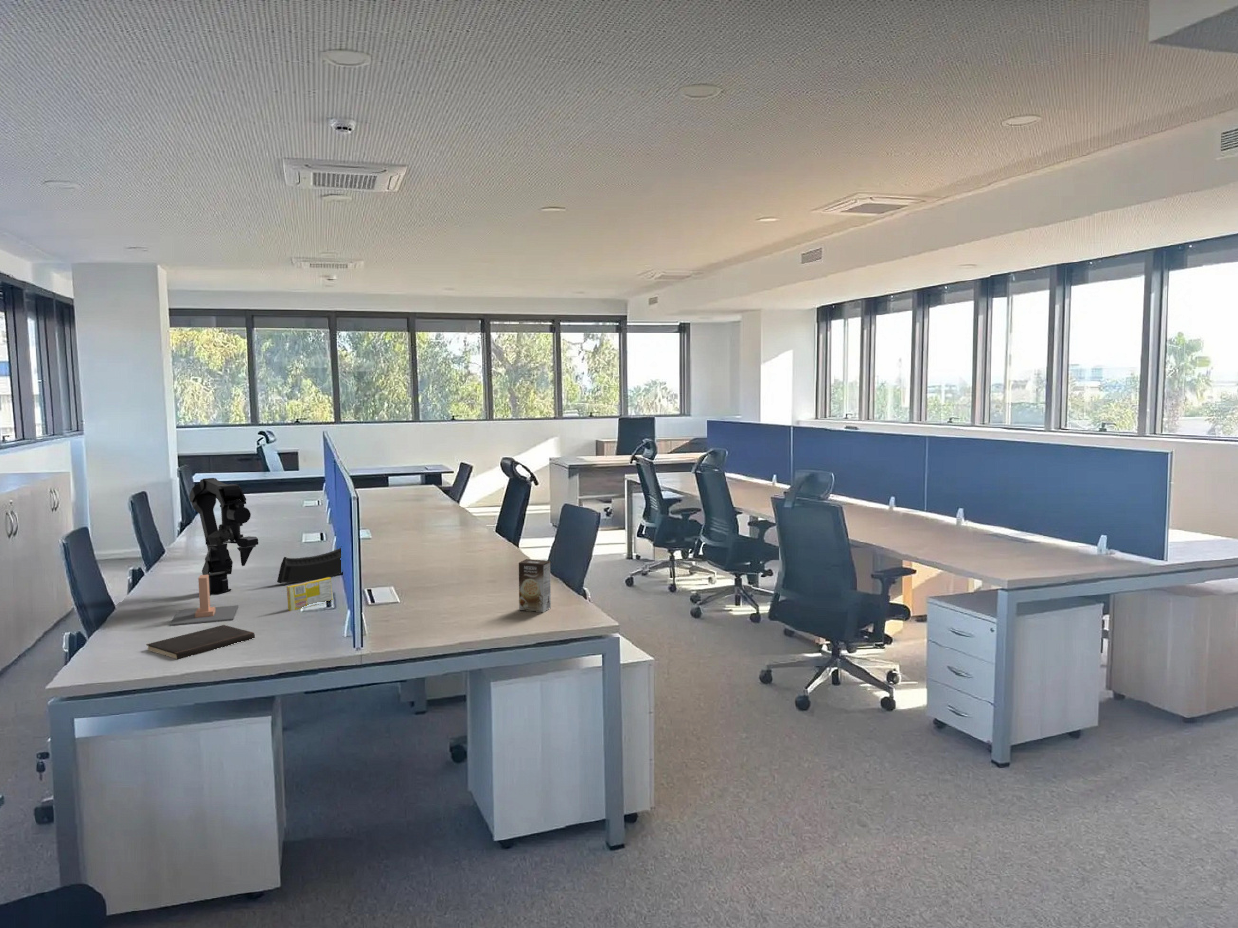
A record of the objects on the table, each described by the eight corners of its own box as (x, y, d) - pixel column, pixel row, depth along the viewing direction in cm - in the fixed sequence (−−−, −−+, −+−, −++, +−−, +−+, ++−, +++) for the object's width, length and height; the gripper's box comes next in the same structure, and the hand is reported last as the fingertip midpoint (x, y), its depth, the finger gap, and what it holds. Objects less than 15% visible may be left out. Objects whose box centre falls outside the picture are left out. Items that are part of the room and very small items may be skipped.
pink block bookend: (198, 612, 275) (195, 575, 274) (215, 611, 276) (213, 573, 275) (195, 617, 269) (193, 579, 268) (213, 615, 270) (211, 577, 269)
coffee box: (518, 610, 275) (517, 562, 273) (526, 606, 281) (525, 558, 279) (543, 612, 272) (542, 564, 270) (551, 608, 278) (551, 560, 276)
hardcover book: (146, 652, 237) (146, 644, 236) (224, 632, 256) (223, 624, 255) (177, 661, 228) (176, 653, 228) (255, 640, 247) (254, 632, 246)
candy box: (329, 600, 292) (328, 576, 291) (333, 601, 291) (332, 577, 290) (287, 610, 279) (286, 585, 278) (291, 611, 278) (289, 586, 277)
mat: (179, 611, 278) (179, 610, 278) (238, 606, 284) (238, 605, 284) (169, 625, 261) (169, 624, 261) (233, 619, 267) (233, 618, 267)
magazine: (273, 563, 311) (343, 530, 331) (269, 562, 313) (339, 529, 334) (288, 604, 316) (356, 569, 336) (284, 603, 318) (352, 568, 339)
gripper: (191, 523, 288) (193, 568, 290) (233, 525, 282) (235, 571, 283) (217, 518, 299) (219, 561, 300) (258, 520, 292) (260, 564, 293)
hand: (233, 565), depth 294 cm, fingers open, 9 cm apart
